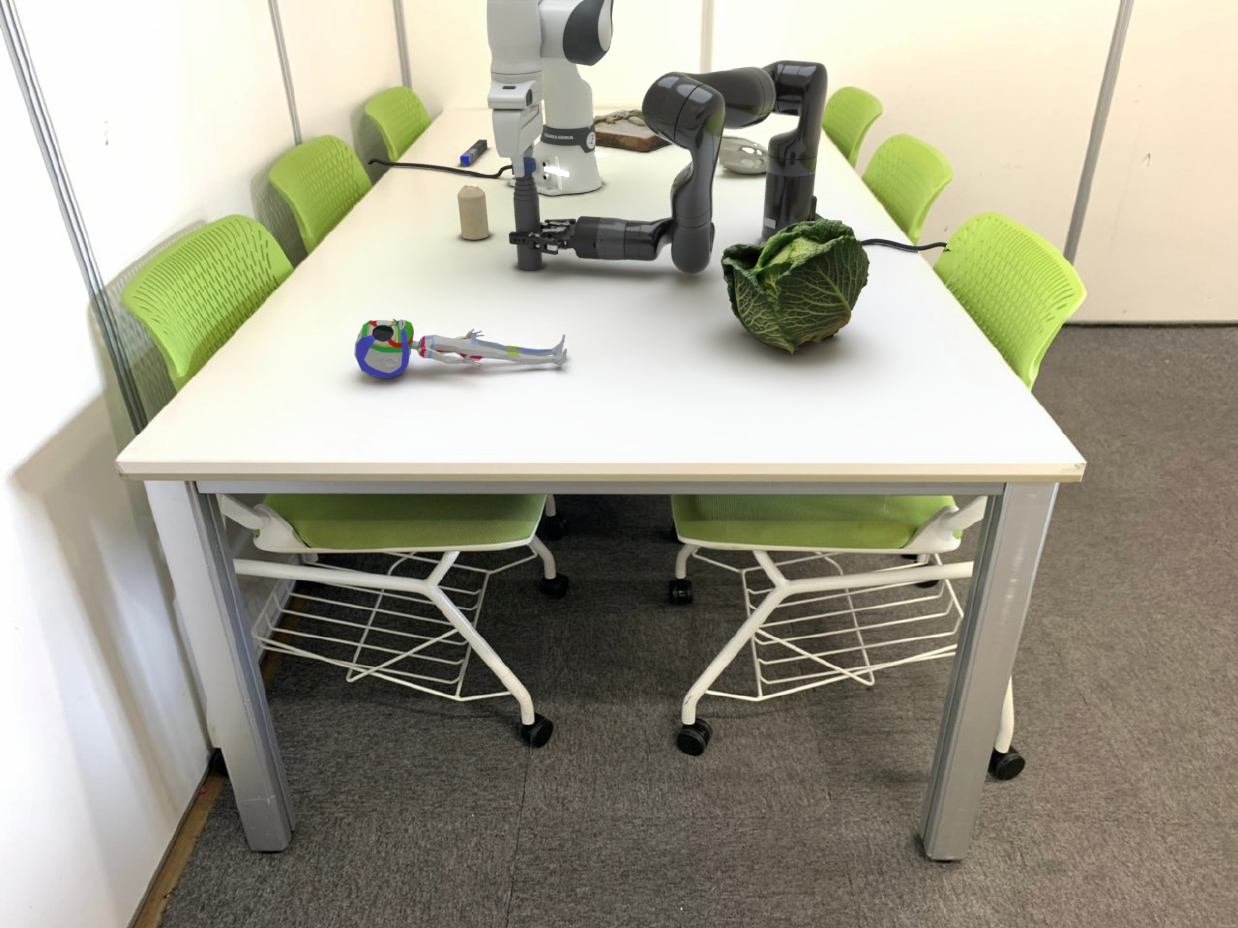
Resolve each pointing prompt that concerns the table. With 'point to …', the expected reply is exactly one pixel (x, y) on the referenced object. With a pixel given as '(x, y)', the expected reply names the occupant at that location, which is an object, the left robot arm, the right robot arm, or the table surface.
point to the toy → (435, 349)
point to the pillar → (473, 152)
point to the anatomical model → (742, 155)
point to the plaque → (626, 131)
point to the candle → (473, 212)
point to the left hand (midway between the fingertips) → (523, 172)
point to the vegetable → (797, 282)
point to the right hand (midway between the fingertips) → (514, 233)
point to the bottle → (527, 219)
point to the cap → (528, 165)
